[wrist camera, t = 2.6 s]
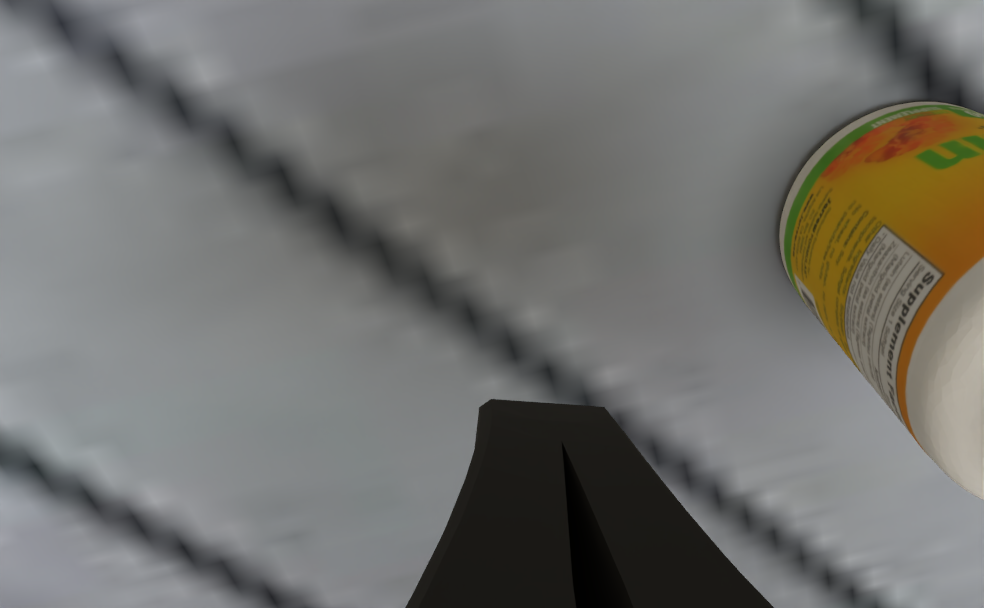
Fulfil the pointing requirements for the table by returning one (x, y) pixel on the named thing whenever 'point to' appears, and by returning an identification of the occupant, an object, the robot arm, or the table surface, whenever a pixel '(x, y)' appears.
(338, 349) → the table surface
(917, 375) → the supplement bottle
